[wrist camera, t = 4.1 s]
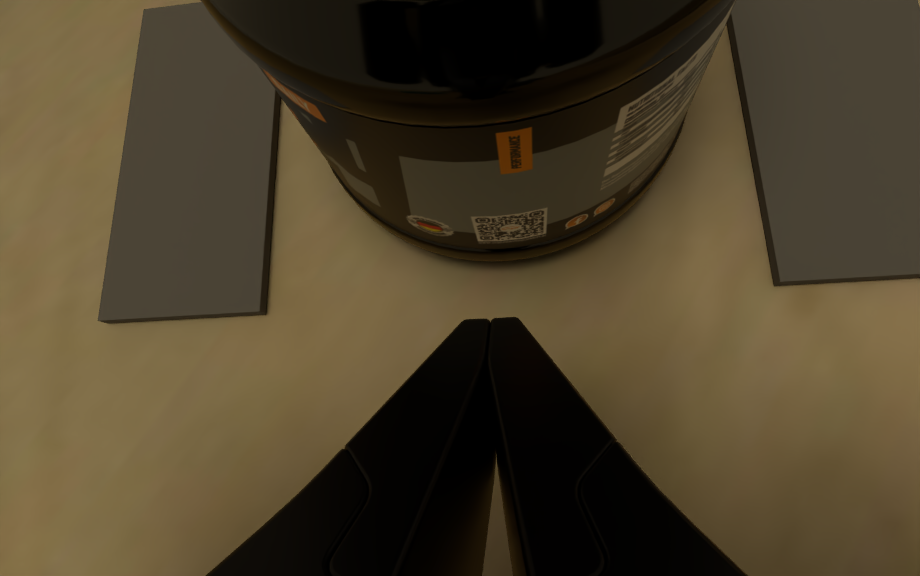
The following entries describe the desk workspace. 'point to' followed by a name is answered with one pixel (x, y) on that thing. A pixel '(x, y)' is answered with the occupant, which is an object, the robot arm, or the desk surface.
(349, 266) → the desk surface
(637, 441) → the desk surface
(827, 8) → the pads
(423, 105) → the supplement container
